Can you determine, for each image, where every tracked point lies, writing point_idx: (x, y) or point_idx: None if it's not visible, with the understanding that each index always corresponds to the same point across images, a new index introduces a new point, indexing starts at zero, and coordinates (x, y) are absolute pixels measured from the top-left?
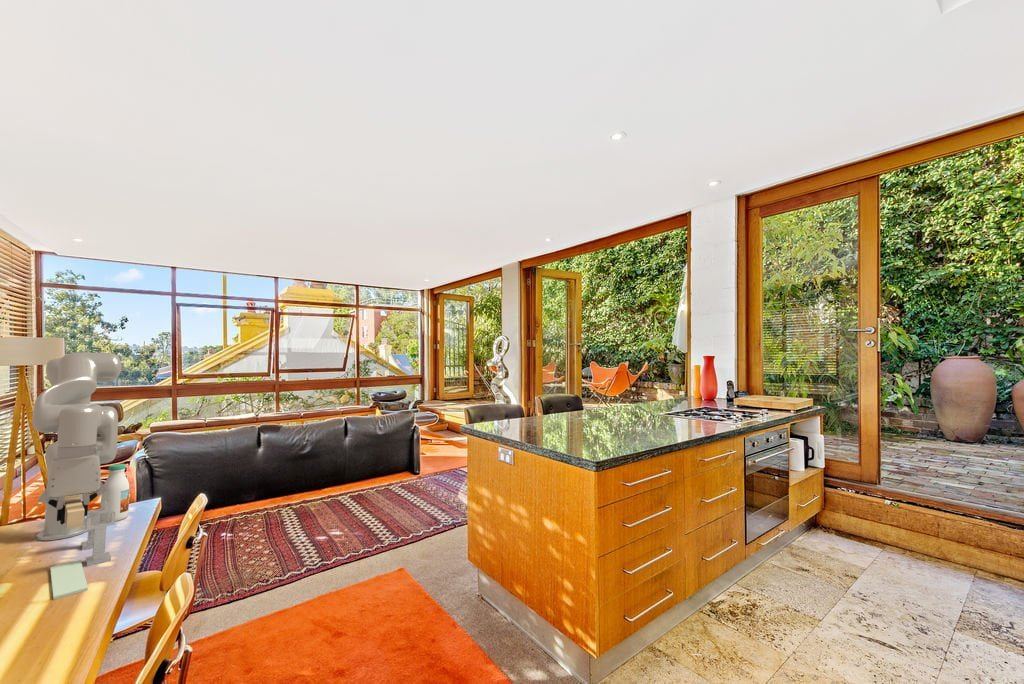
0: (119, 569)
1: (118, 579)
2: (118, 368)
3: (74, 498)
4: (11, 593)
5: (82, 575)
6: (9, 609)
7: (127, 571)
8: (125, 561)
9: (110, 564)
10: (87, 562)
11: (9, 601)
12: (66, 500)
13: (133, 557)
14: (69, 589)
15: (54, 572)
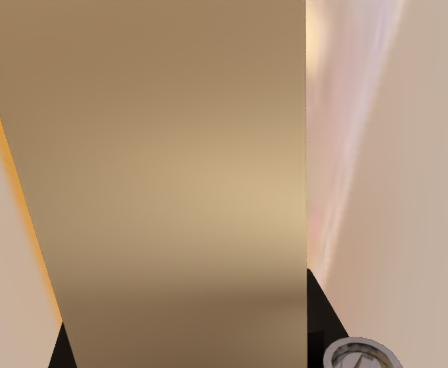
0: (330, 147)
1: (315, 245)
2: None
3: (217, 224)
4: (4, 144)
5: None
6: (48, 288)
7: (348, 189)
8: (361, 61)
9: (311, 56)
10: None
11: (25, 222)
12: (93, 311)
13: (395, 28)
14: None
15: None
